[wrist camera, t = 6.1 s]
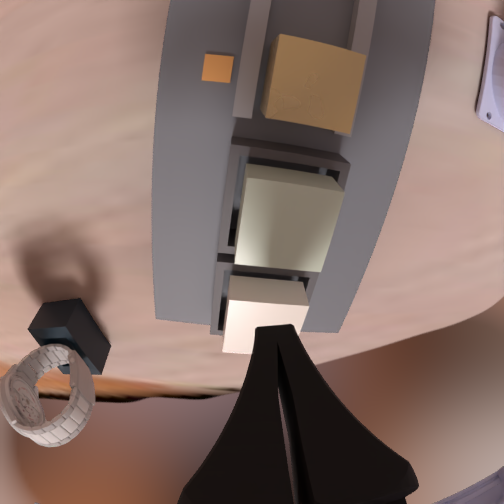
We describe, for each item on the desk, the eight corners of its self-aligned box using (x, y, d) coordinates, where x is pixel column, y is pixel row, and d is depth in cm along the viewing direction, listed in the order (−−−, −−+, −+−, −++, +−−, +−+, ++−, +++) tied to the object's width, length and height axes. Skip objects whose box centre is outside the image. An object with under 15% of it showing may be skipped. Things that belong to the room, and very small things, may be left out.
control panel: (414, -19, 10) (455, -33, 6) (330, 308, 22) (344, 351, 19) (198, -69, 9) (187, -104, 5) (162, 293, 21) (150, 338, 17)
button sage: (332, 176, 12) (345, 192, 11) (312, 249, 14) (320, 272, 13) (245, 163, 12) (247, 177, 10) (234, 240, 14) (234, 263, 12)
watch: (28, 305, 21) (-26, 406, 12) (97, 295, 21) (44, 424, 11) (60, 349, 24) (22, 446, 15) (128, 345, 24) (98, 464, 14)
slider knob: (340, 58, 11) (366, 55, 8) (327, 121, 12) (349, 134, 10) (270, 42, 11) (280, 33, 8) (259, 108, 12) (265, 117, 10)
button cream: (302, 281, 15) (309, 306, 14) (287, 331, 17) (291, 355, 16) (230, 275, 15) (229, 299, 13) (223, 327, 17) (222, 352, 15)
